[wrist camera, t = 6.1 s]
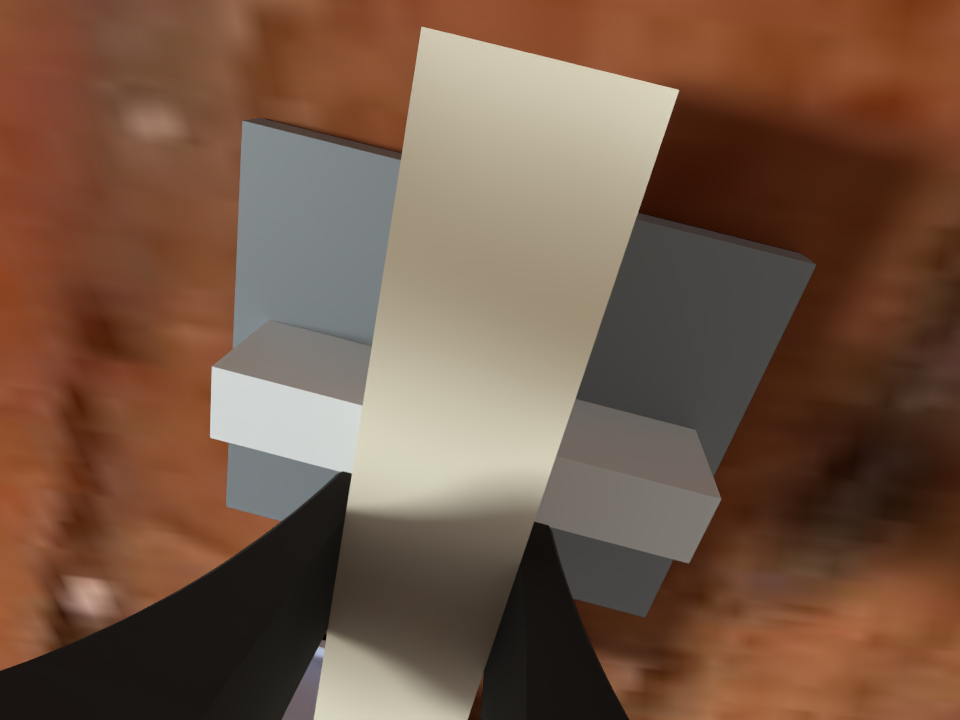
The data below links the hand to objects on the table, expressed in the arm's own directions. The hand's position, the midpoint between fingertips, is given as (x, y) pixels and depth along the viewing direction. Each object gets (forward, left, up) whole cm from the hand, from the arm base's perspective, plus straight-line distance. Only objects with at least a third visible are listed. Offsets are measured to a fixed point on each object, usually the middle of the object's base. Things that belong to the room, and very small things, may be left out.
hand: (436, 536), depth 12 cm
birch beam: (0, 0, -2) cm, 2 cm away
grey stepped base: (0, 0, -6) cm, 6 cm away
